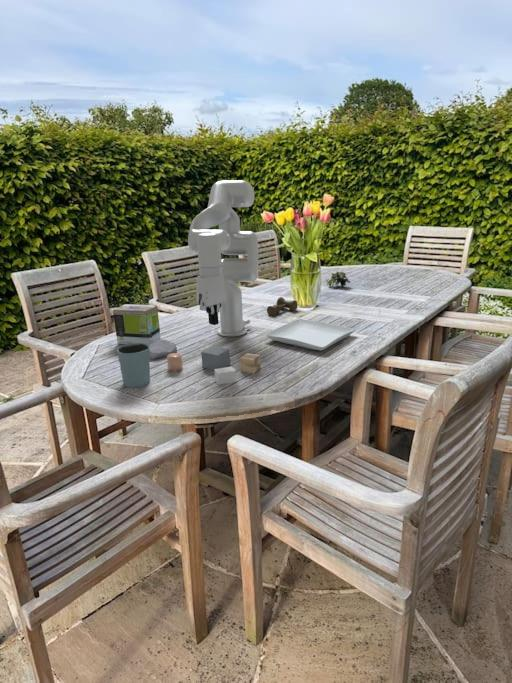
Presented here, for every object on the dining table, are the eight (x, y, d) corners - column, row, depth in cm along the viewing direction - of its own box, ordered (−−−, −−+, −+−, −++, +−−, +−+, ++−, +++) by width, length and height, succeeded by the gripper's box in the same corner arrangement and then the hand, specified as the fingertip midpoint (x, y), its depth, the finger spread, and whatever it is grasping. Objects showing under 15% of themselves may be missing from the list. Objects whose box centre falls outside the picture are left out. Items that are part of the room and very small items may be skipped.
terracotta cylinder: (176, 365, 165) (175, 352, 163) (185, 368, 162) (184, 355, 160) (165, 369, 161) (163, 356, 160) (174, 372, 158) (173, 359, 156)
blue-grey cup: (115, 387, 148) (111, 352, 144) (129, 375, 157) (125, 341, 153) (145, 389, 146) (141, 354, 142) (157, 376, 155) (154, 343, 151)
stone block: (179, 355, 179) (161, 346, 184) (180, 344, 177) (162, 335, 181) (156, 366, 170) (138, 356, 175) (157, 355, 168) (138, 345, 173)
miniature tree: (341, 295, 278) (354, 279, 272) (334, 295, 269) (347, 279, 263) (328, 282, 281) (340, 267, 276) (320, 282, 272) (333, 267, 267)
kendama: (262, 315, 224) (286, 305, 238) (278, 319, 218) (302, 308, 232) (262, 303, 221) (286, 294, 236) (278, 307, 216) (302, 297, 230)
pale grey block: (232, 377, 154) (232, 366, 152) (236, 382, 150) (235, 370, 149) (215, 380, 152) (214, 369, 150) (218, 385, 148) (217, 373, 147)
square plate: (323, 356, 170) (323, 346, 169) (263, 342, 186) (263, 333, 185) (355, 336, 190) (356, 327, 189) (299, 325, 206) (299, 317, 205)
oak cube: (247, 366, 162) (247, 352, 161) (260, 368, 160) (259, 355, 158) (240, 371, 158) (240, 357, 156) (253, 373, 156) (253, 359, 154)
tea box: (161, 338, 193) (158, 304, 188) (150, 347, 184) (146, 311, 179) (129, 336, 197) (125, 302, 192) (116, 344, 188) (111, 309, 183)
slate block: (214, 361, 168) (213, 345, 166) (230, 364, 164) (229, 348, 162) (202, 367, 162) (201, 351, 160) (218, 371, 158) (217, 355, 156)
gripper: (219, 266, 160) (221, 316, 166) (185, 273, 150) (189, 327, 156) (234, 268, 155) (236, 320, 162) (201, 276, 145) (204, 331, 151)
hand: (213, 323), depth 159 cm, fingers closed
